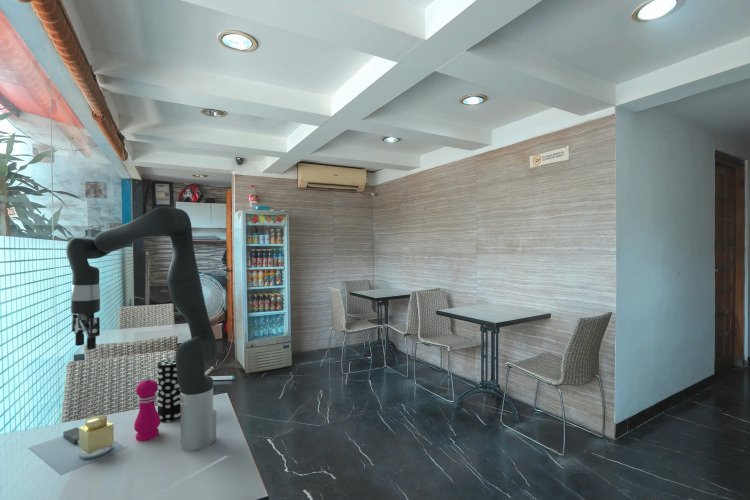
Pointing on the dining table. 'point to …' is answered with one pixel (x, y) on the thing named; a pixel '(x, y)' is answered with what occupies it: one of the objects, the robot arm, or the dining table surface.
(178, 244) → the robot arm
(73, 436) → the metal ladle
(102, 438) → the brass knob block
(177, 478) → the dining table surface
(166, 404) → the spotted tube
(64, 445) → the mat
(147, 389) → the pepper mill
